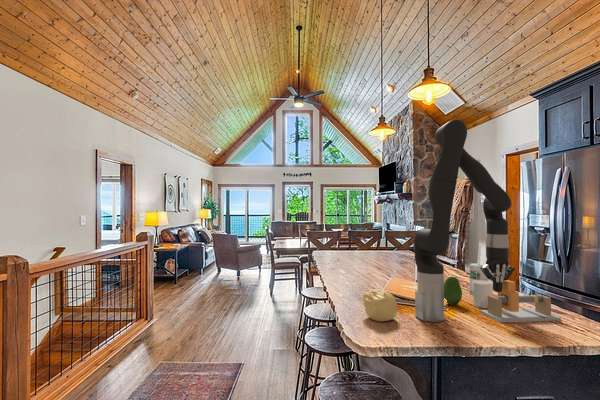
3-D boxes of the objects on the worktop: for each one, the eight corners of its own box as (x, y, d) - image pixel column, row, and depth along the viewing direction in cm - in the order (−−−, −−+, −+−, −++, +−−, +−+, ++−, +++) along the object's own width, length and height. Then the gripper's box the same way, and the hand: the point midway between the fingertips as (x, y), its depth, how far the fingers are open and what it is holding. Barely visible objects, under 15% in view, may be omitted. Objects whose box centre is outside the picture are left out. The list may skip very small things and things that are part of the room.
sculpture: (358, 315, 125) (358, 286, 125) (387, 312, 128) (387, 285, 128) (372, 325, 114) (372, 294, 114) (403, 322, 117) (403, 292, 117)
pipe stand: (500, 322, 118) (499, 300, 118) (480, 312, 128) (480, 292, 129) (560, 320, 120) (560, 298, 120) (536, 311, 131) (535, 291, 131)
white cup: (496, 309, 133) (496, 284, 133) (475, 308, 135) (475, 283, 135) (489, 303, 141) (489, 280, 141) (469, 302, 142) (469, 279, 143)
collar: (511, 311, 120) (511, 283, 120) (497, 306, 127) (497, 279, 127) (518, 311, 121) (518, 283, 121) (505, 306, 127) (504, 279, 128)
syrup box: (468, 293, 157) (468, 263, 158) (478, 292, 159) (478, 263, 160) (478, 296, 152) (478, 265, 152) (488, 295, 154) (488, 264, 154)
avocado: (465, 304, 139) (465, 276, 139) (456, 308, 134) (456, 279, 134) (446, 300, 145) (446, 273, 145) (438, 304, 140) (438, 275, 140)
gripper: (487, 247, 120) (488, 294, 119) (520, 247, 121) (521, 293, 121) (474, 244, 127) (474, 289, 127) (506, 244, 128) (506, 288, 128)
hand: (497, 291), depth 124 cm, fingers closed
